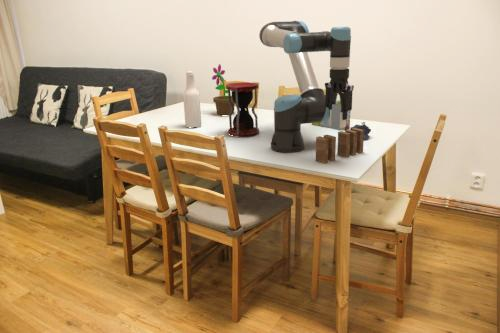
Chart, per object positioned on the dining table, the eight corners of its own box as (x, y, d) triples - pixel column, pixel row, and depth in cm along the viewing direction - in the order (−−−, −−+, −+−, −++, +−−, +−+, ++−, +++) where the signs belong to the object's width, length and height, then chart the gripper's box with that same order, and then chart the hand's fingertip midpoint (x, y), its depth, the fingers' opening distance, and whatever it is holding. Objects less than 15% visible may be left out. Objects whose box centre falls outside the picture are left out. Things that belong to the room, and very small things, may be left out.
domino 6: (359, 153, 189) (360, 130, 185) (350, 150, 193) (351, 128, 189) (362, 152, 190) (364, 130, 186) (354, 150, 194) (355, 127, 190)
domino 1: (324, 163, 177) (324, 139, 174) (315, 160, 181) (316, 137, 178) (327, 162, 178) (328, 138, 175) (319, 159, 182) (319, 136, 179)
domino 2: (331, 161, 180) (332, 137, 176) (322, 158, 183) (323, 135, 180) (335, 160, 181) (335, 136, 177) (326, 157, 185) (327, 134, 181)
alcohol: (188, 124, 249) (184, 70, 239) (203, 124, 247) (200, 70, 237) (183, 128, 241) (178, 72, 231) (198, 128, 239) (194, 72, 229)
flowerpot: (223, 111, 282) (221, 63, 272) (241, 113, 274) (240, 63, 264) (209, 115, 271) (206, 65, 261) (227, 117, 263) (225, 66, 253)
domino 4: (346, 157, 184) (347, 134, 181) (337, 154, 188) (338, 131, 185) (349, 156, 185) (350, 133, 182) (340, 153, 189) (341, 131, 186)
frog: (375, 138, 211) (376, 122, 209) (358, 142, 205) (359, 126, 202) (360, 134, 219) (360, 118, 216) (342, 138, 213) (343, 122, 210)
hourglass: (222, 136, 223) (220, 86, 214) (235, 128, 237) (233, 81, 229) (252, 138, 217) (251, 87, 209) (263, 130, 231) (262, 82, 223)
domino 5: (352, 155, 186) (354, 132, 183) (344, 152, 190) (345, 130, 187) (356, 154, 187) (357, 131, 184) (347, 151, 191) (348, 129, 188)
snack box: (350, 128, 230) (351, 99, 225) (344, 130, 226) (345, 101, 221) (316, 122, 244) (317, 95, 239) (310, 124, 240) (311, 97, 235)
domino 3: (334, 127, 183) (335, 103, 180) (343, 129, 179) (344, 105, 176) (331, 128, 182) (332, 104, 179) (340, 130, 178) (341, 106, 175)
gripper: (363, 68, 167) (360, 128, 175) (329, 65, 181) (328, 121, 189) (350, 70, 163) (347, 131, 171) (316, 67, 177) (315, 123, 185)
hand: (337, 126), depth 180 cm, fingers closed on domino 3, 5 cm apart
